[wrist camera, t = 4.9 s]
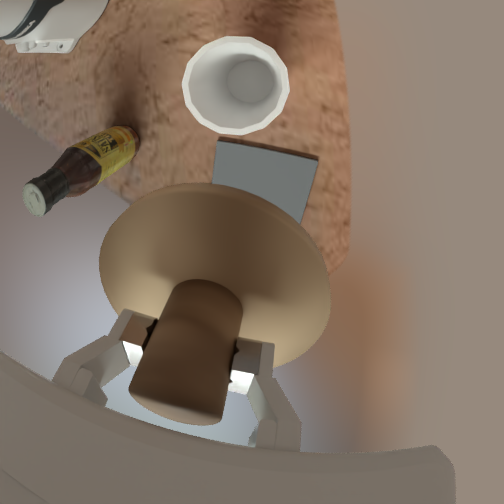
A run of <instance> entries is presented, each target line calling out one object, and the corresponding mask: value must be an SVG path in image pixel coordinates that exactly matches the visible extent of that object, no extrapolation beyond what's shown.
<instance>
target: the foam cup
mask: <svg viewBox="0 0 504 504" xmlns="http://www.w3.org/2000/svg"><path fill="white" fill-rule="evenodd" d="M182 88H183V94H184V99H185V104H186V106H187V107H188V109H189V110H190V111H191V113H192V114H193V115H194V117H195V118H196V119H197V121H198V122H199V123H201V124H203V125H204V126H206V127H208V128H210V129H212V130H214V131H216V132H218V133H222V134H234V135H244V134H247V133H250V132H253V131H256V130H259V129H262V128H265V127H266V126H267V125H268V124H269V123H270V122H271V121H272V120H273V119H274V118H276V117H277V116H278V115H279V114H280V113H281V112H282V110H283V107H284V104H285V102H286V99H287V96H288V94H289V91H290V88H289V80H288V73H287V67H286V66H285V64H284V63H283V62H282V60H281V59H280V57H279V56H278V55H277V53H276V52H275V50H274V49H273V48H271V47H269V46H268V45H266V44H264V43H262V42H260V41H258V40H256V39H254V38H252V37H240V36H225V37H223V38H220V39H218V40H215V41H213V42H210V43H208V44H206V45H203V46H202V48H201V49H200V50H199V51H198V52H197V53H196V54H195V55H194V56H193V57H192V58H191V60H190V61H189V62H188V64H187V67H186V70H185V74H184V77H183V81H182Z"/></svg>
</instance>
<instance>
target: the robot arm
mask: <svg viewBox="0 0 504 504" xmlns="http://www.w3.org/2000/svg"><path fill="white" fill-rule="evenodd" d="M107 3H108V0H0V40H4V41H5V43H6V44H14V43H15V45H16V49H17V51H18V53H36V52H42V53H69V52H71V51H72V50H73V48H74V47H75V45H76V43H77V42H78V40H79V38H80V37H81V36H82V35H83V34H84V33H85V32H86V31H87V30H89V29H90V28H91V27H92V26H93V25H94V23H95V22H96V21H97V20H98V19H99V17H100V16H101V14H102V13H103V11H104V9H105V7H106V5H107ZM62 45H63V47H62ZM157 322H158V318H155V317H152V316H149V315H145V314H142V313H139V312H136V311H133V310H129V309H126V308H125V309H124V310H122V312H121V313H120V315H119V317H118V319H117V320H116V322H115V324H114V326H113V327H112V329H111V331H110V333H109V334H108V336H105V335H104V336H103V337H101V338H99V339H97V340H95V341H94V342H92V343H90V344H88V345H87V346H85V347H83V348H81V349H80V350H78V351H76V352H74V353H73V354H71V355H69V356H67V357H66V358H64V360H63V361H62V363H61V365H60V367H59V368H58V370H57V372H56V374H55V376H54V377H53V379H52V381H50V380H48V379H47V378H45V377H43V376H41V375H40V374H38V373H36V372H34V371H33V370H31V369H29V368H28V367H26V366H24V365H23V364H21V363H20V362H18V361H17V360H15V359H14V358H12V357H11V356H9V355H8V354H6V353H5V352H3V351H2V350H0V504H455V502H456V484H455V471H454V466H453V464H452V463H451V461H450V460H449V459H448V458H447V456H446V455H445V454H444V453H443V452H442V451H441V450H440V449H439V448H438V447H437V446H434V445H430V446H423V447H416V448H409V449H401V450H392V451H381V452H367V453H366V452H365V453H308V452H300V441H301V421H300V419H299V418H298V416H297V414H296V413H295V411H294V409H293V408H292V406H291V404H290V402H289V401H288V399H287V397H286V396H285V394H284V392H283V390H282V389H281V387H280V385H279V384H278V382H277V380H276V379H275V378H272V372H273V362H274V351H275V344H274V343H269V342H263V341H259V340H254V339H248V338H242V337H238V340H237V344H236V349H235V355H234V359H233V364H232V369H231V374H230V381H229V386H228V391H232V392H236V393H241V394H246V395H247V397H248V399H249V402H250V404H251V406H252V409H253V411H254V413H255V415H256V418H257V420H258V424H257V426H256V428H255V429H254V431H253V433H252V435H251V436H250V437H249V443H248V446H242V445H235V444H230V443H225V442H219V441H214V440H210V439H205V438H201V437H197V436H192V435H188V434H184V433H181V432H177V431H173V430H170V429H166V428H163V427H160V426H156V425H153V424H150V423H147V422H144V421H141V420H138V419H135V418H133V417H130V416H127V415H124V414H122V413H119V412H117V411H114V410H112V409H109V408H107V407H105V405H106V402H107V400H108V399H107V396H106V395H105V393H104V392H103V390H102V387H103V386H104V385H105V384H107V383H108V382H109V381H110V380H112V379H113V378H115V377H116V376H117V375H119V374H120V373H121V372H123V371H124V370H125V369H126V368H128V367H129V366H130V365H132V366H135V367H137V366H138V364H139V362H140V360H141V357H142V355H143V353H144V350H145V348H146V346H147V344H148V341H149V339H150V337H151V335H152V332H153V330H154V328H155V326H156V324H157Z"/></svg>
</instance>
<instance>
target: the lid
mask: <svg viewBox="0 0 504 504" xmlns="http://www.w3.org/2000/svg"><path fill="white" fill-rule="evenodd" d="M99 271H100V277H101V282H102V285H103V288H104V291H105V293H106V295H107V298H108V300H109V302H110V304H111V305H112V307H113V309H114V310H115V312H116V313H117V314H118V316H119V315H120V313H121V312H122V310H124V309H125V308H126V309H129V310H133V311H136V312H139V313H142V314H145V315H149V316H152V317H155V318H158V322H157V324H156V326H155V328H154V330H153V332H152V335H151V337H150V339H149V341H148V344H147V346H146V348H145V350H144V353H143V355H142V357H141V360H140V362H139V364H138V366H137V369H136V371H135V374H134V376H133V378H132V381H131V383H130V385H129V393H130V394H131V396H132V397H133V398H134V399H135V400H136V401H137V402H138V403H139V404H141V405H142V406H143V407H145V408H146V409H148V410H150V411H152V412H154V413H155V414H158V415H160V416H163V417H165V418H167V419H171V420H173V421H177V422H181V423H185V424H191V425H213V424H216V423H218V422H220V421H221V419H222V415H223V411H224V406H225V401H226V396H227V391H228V386H229V381H230V374H231V369H232V364H233V359H234V355H235V349H236V344H237V340H238V337H242V338H248V339H254V340H259V341H263V342H269V343H274V344H275V351H274V362H273V368H274V367H277V366H280V365H283V364H285V363H287V362H290V361H291V360H294V359H295V358H297V357H299V356H300V355H302V354H303V353H304V352H306V351H307V350H308V349H309V348H311V347H312V345H313V344H314V343H315V342H316V341H317V340H318V339H319V337H320V336H321V334H322V333H323V331H324V329H325V327H326V325H327V322H328V319H329V315H330V310H331V293H330V285H329V278H328V272H327V268H326V265H325V262H324V259H323V256H322V254H321V252H320V251H319V249H318V247H317V245H316V243H315V242H314V241H313V239H312V238H311V237H310V235H309V234H308V233H307V232H306V230H305V229H304V228H303V227H302V226H301V225H300V224H299V223H298V222H297V221H296V220H295V219H294V218H293V217H291V216H290V215H289V214H287V213H286V212H285V211H283V210H282V209H280V208H279V207H278V206H276V205H274V204H272V203H271V202H269V201H267V200H265V199H263V198H261V197H260V196H257V195H254V194H252V193H249V192H247V191H244V190H242V189H238V188H234V187H230V186H226V185H220V184H212V183H183V184H177V185H171V186H167V187H164V188H161V189H158V190H155V191H153V192H151V193H149V194H147V195H145V196H143V197H141V198H140V199H138V200H137V201H136V202H135V203H133V204H132V205H131V206H130V207H129V208H128V209H126V211H125V212H123V213H122V214H121V215H120V216H119V217H118V219H117V220H116V221H115V222H114V223H113V224H112V226H111V227H110V228H109V230H108V232H107V234H106V235H105V238H104V240H103V243H102V246H101V250H100V257H99Z"/></svg>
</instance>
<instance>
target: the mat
mask: <svg viewBox="0 0 504 504" xmlns="http://www.w3.org/2000/svg"><path fill="white" fill-rule="evenodd" d="M317 164H318V160H315V159H310V158H306V157H302V156H298V155H294V154H289V153H285V152H280V151H275V150H270V149H265V148H260V147H255V146H250V145H244V144H239V143H233V142H227V141H220V140H218V141H217V146H216V154H215V161H214V169H213V178H212V184H220V185H226V186H230V187H234V188H238V189H242V190H244V191H247V192H249V193H252V194H254V195H257V196H260V197H261V198H263V199H265V200H267V201H269V202H271V203H272V204H274V205H276V206H278V207H279V208H280V209H282V210H283V211H285V212H286V213H287V214H289V215H290V216H291V217H293V218H294V219H295V220H296V221H297V222H298V223H299V224H300V222H301V219H302V216H303V212H304V209H305V206H306V202H307V199H308V195H309V192H310V189H311V185H312V182H313V178H314V175H315V171H316V168H317Z"/></svg>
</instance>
